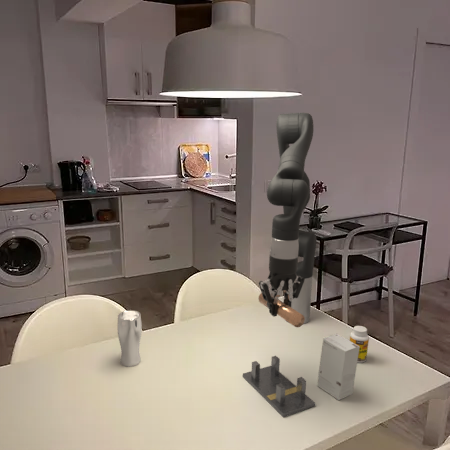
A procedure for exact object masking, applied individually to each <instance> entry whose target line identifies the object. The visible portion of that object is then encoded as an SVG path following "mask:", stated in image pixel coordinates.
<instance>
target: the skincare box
mask: <svg viewBox="0 0 450 450" xmlns="http://www.w3.org/2000/svg"><path fill="white" fill-rule="evenodd" d="M320 353H321V354H320V361H319V369H318V375H317V383H316V386H317V387H319V389H322V390H323V391H324V392H326V393H328V395H331V396H332V397H333V398H335V399H336V400H337V401H340V400H342V399H345V398H346V397H350V396H351V395H353V393H354V392H353V391H354V385H355V379H356V372H357V366H358V362H357V360H358V354H359V346H358V345H356V344H354V343H353V342H351V341H350V339H348V338H346V337H344V336H343V335H340V334H338V333H334V334H332V335H329V336H324V337H323V338H322V347H321V352H320Z"/></svg>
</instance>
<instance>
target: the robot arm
mask: <svg viewBox="0 0 450 450" xmlns="http://www.w3.org/2000/svg"><path fill="white" fill-rule="evenodd" d="M275 124H276V125H275V126H276V137H277V145H278V146H277V147H278V154H279V161H278V167H277V172H276V173H275V174H274V176H273V177H272V178H271V180H270V181H269V184H268V186H267V189H266V197H267V198H266V199H267V200H268V202H269V203H270V204H271V205H273V206H277V207H278V206H279V207H282V208H283V209H282V210H283V213H280V214H276V215H274V216H273V219H272V222H271V223H272V224H271V225H272V226H271V237H270V238H271V239H270V245H269V261H268V270H269V274H268V276H267V279H265V280H264V281H263V280H259V282H258V285H259V288H260V292H261V293H262V296H263V299H264V300H265V301H267V302H268V303H270V305H269V309H268V311H269V313H270V316H272V317H275V318H276V317H277V316H278V315H277V306H278V304H277V302H278V299H279V298H280V297H281V294H282V292H283V301H282V302H283V303H285V304H286V305H288V306H289V307H291V308H293V309H294V310H296V311H297V312H299V313H300V314H302V315H303V316H304V318H305V321H304V323H303V325H304V324H307V323H309V321H310V316H311V315H310V314H311V303H312V289H313V287H312V286H313V275H314V267H315V259H316V257H315V255H316V251H317V250H316V249H317V236H316V233H314V232H313V231H307V230H300V224H301V223H300V222H301V218H302V214H303V211H304V210H305V209H306V207H307V206H308V204H309V202H310V199H311V188H310V187H311V182H310V179H309V175H308V174H307V173H306V170H305V164H306V159H307V156H308V153H309V150H310V148H311V144H312V141H313V137H314V120H313V116H312V114H311V113H308V112H294V113H293V112H290V113H281V114H279V115H278V116H277V118H276V123H275ZM299 258H302V260H301V261H299V262H298V259H299Z"/></svg>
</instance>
